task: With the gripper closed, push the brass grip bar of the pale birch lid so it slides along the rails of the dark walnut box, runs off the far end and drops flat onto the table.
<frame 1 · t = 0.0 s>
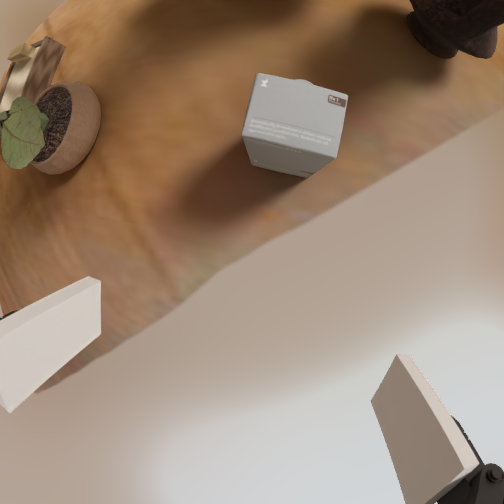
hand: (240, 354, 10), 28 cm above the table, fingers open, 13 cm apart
box: (32, 93, 36), on the table
skincare box: (287, 148, 35), on the table
jug: (430, 37, 27), on the table
lid: (16, 90, 30), point 5 cm above the table, touching box
potted plant: (78, 140, 37), on the table
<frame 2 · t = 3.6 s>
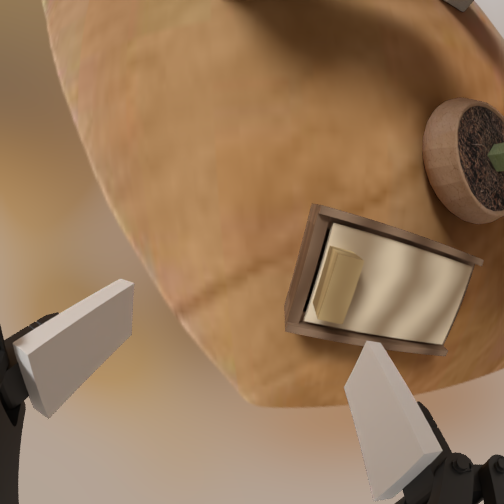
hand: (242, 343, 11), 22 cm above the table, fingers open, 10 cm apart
box: (379, 276, 32), on the table
lid: (397, 291, 26), point 5 cm above the table, touching box
potted plant: (470, 153, 27), on the table
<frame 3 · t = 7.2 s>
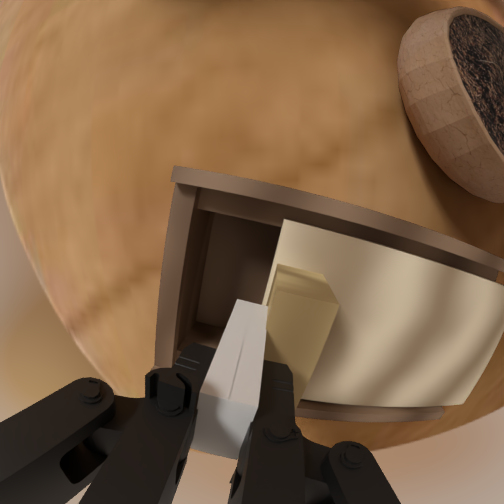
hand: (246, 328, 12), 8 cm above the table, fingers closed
box: (333, 292, 20), on the table
lid: (406, 338, 14), point 6 cm above the table, touching gripper
potted plant: (476, 100, 15), on the table
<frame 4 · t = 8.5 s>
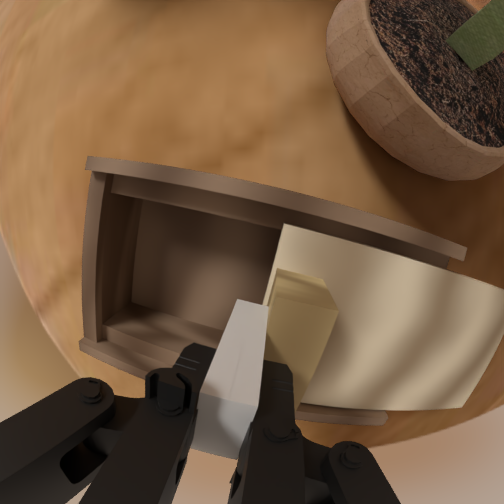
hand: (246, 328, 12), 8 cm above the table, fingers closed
box: (260, 278, 20), on the table
lid: (405, 342, 14), point 5 cm above the table, touching box, gripper
potted plant: (433, 75, 15), on the table
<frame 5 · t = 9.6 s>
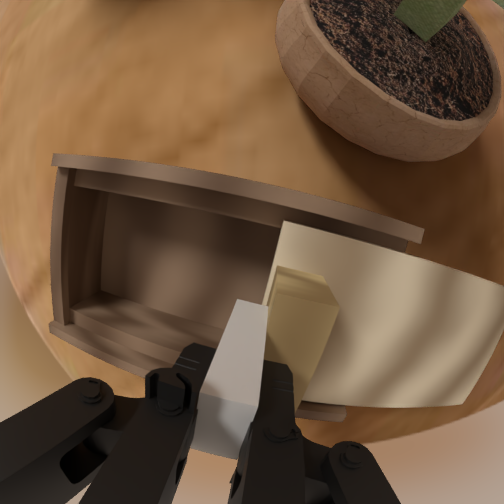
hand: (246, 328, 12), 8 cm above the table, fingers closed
box: (216, 266, 20), on the table
lid: (405, 339, 14), point 5 cm above the table, touching gripper
potted plant: (400, 59, 16), on the table
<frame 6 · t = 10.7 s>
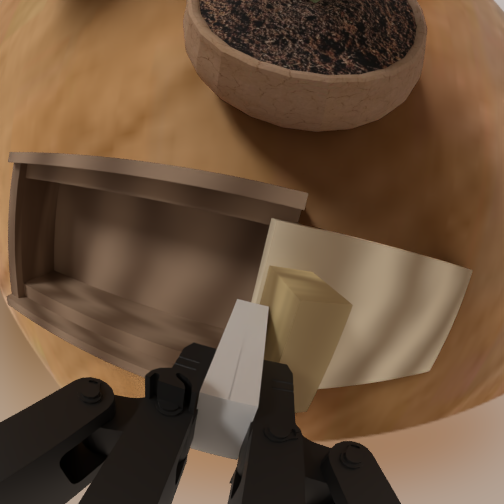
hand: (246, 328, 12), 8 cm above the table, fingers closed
box: (142, 246, 21), on the table
lid: (380, 320, 17), point 3 cm above the table, tilted 18°, touching gripper
potted plant: (329, 34, 16), on the table
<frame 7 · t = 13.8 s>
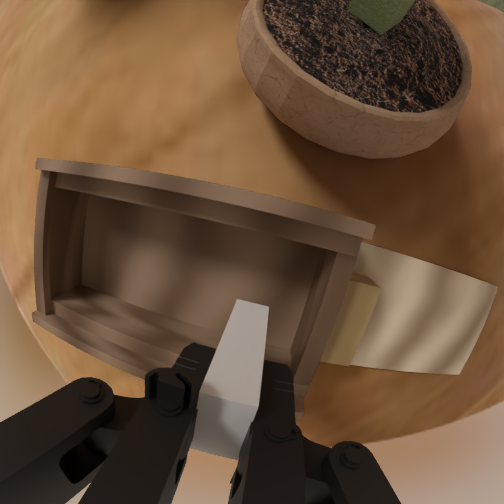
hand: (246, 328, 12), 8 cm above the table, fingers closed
box: (184, 263, 21), on the table
lid: (415, 318, 21), on the table
potted plant: (371, 57, 17), on the table
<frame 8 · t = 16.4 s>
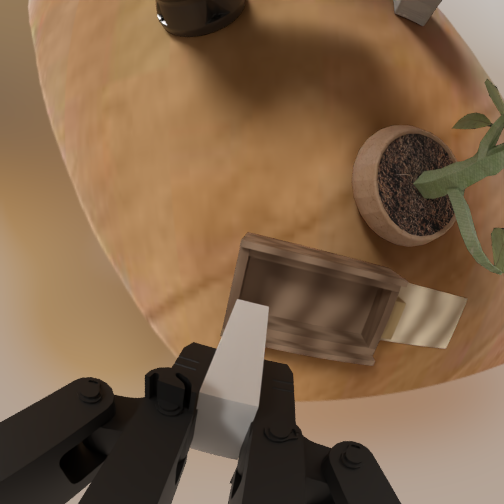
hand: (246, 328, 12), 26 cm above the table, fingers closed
box: (310, 292, 39), on the table
skincare box: (405, 7, 27), on the table
lid: (419, 316, 39), on the table
potted plant: (411, 176, 34), on the table
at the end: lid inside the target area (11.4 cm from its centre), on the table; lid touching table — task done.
